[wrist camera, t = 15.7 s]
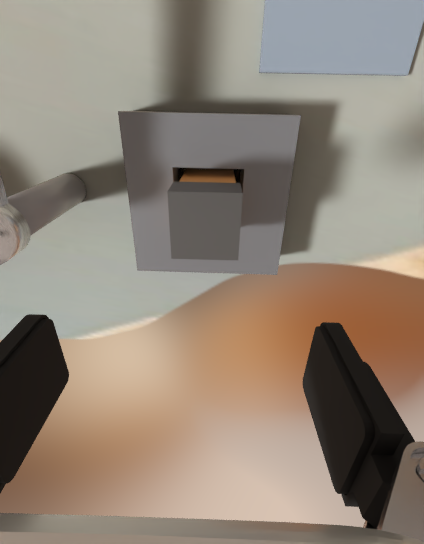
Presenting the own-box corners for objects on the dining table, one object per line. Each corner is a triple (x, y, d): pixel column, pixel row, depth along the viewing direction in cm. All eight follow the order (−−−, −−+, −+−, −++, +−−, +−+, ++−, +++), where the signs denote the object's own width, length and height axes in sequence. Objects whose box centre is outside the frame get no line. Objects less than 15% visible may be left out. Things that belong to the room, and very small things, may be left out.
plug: (235, 166, 28) (242, 193, 19) (233, 216, 30) (238, 260, 22) (183, 165, 28) (167, 191, 19) (185, 215, 30) (171, 258, 22)
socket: (289, 114, 26) (328, 117, 16) (270, 256, 32) (290, 315, 23) (36, 109, 26) (-64, 109, 17) (71, 251, 33) (13, 306, 24)
